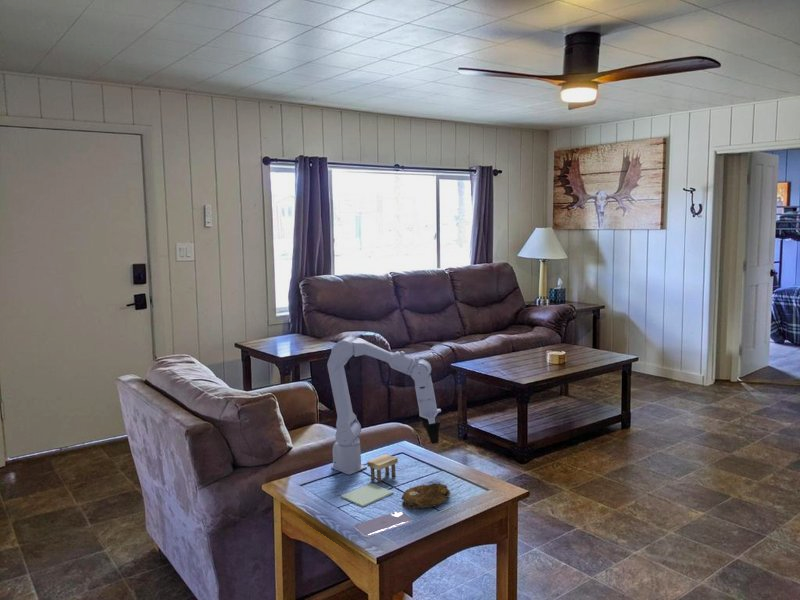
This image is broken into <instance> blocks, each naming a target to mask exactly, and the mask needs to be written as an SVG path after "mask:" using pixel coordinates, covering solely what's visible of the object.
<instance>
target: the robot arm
mask: <svg viewBox="0 0 800 600" xmlns="http://www.w3.org/2000/svg"><path fill="white" fill-rule="evenodd" d="M353 356H354V357H360V356H368V357H371V358H373V359H377V360H380V361H383V362H385V363H387V364H389V367H390V368H391V369H393V370H396V371H398V372H400V373H402V374H405V375H408V376H410V378H412V380H413V381H414V389H415V394H416V400H417V406H418V411H419V414H418V415H419V418H420V420H421V421H422V423H421V424H422V426H423V427H424V429H425V430H426V434H427V436H428V438H429V440H430V443H431V444H432V445H433V444H438V443H439V435H440V433H439V431H440V426H441V423H442V422H441V420H439V419H438V420H436V419H437V415H438V414H439V413H441V412H442V409H441V408H437V407H438V406H437V402H436V394H435V389H434V383H433V381H432V380H433V379H432V375H431V373H432V366H431V363H430V362H429V361H428V360H426V359H425V358H424V359H423V358H422V359H420V358H419V357H413V356H411V355H407V354H406V352H405V351H403V350H401V351H395V352H391V351H388V350H386V349H384V348H382V347H381V346H378V345H375V344H373V343H371V342H369V341H367V340H365V339H363V338H361V337H356V336H354V335H347V336H345V337H344V338H342V340H339V341H337V342H336V343H335V345H333V346H332V347H331V352H330V355H329V357H328V360H327V363H326V364H327V372H328V375H329V380H330V381H329V382H330V386H331V392H332V396H333V401H334V406H335V410H336V415H337V418H336V424H335V427H336V428H335V429H336V433H335V435H334V436H335V440H336V441H335V442H334V443H333V445H332V464H333V465H332V466H331V469H333V470H336V471H338V472H340V473H343V474H346V475H352V474H355V473H357V472H359V471H362V470H364V469H367V468H368V465H364V464H363V463H362V456H361V455H362V453H361V440H360V438H359V435H360V434H361V432H362V426H361V424H360V422H359V420H358V419H357V415H356V414H355V413H354V410H353V405H352V401H351V396H350V392H349V390H350V389H349V386H348V385H349V384H348V381H347V376H346V375H347V374H346V370H345V365H346V364H347V363H348V362H349V360H350V359H351V358H352V357H353Z"/></svg>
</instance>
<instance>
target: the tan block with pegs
mask: <svg viewBox="0 0 800 600" xmlns="http://www.w3.org/2000/svg"><path fill="white" fill-rule="evenodd" d="M398 460H399V459H398V457H396V456H393V455H390V454H386V453H385V454H382V455H380V456H377V457H375V458H373V459H370V460H367V461H366V462H367V467H369V468H370V480H371V481H375V480H376V481H377V483H378V484H381V483H382V471H381V470H383V469H385V475H390V467H391V477H393V478H394V477H396V476H397V475H396V474H397V473H396V464H398V463H399V461H398ZM375 470H376V473H375ZM375 476H376V478H375ZM380 482H381V483H380Z"/></svg>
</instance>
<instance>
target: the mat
mask: <svg viewBox="0 0 800 600" xmlns="http://www.w3.org/2000/svg"><path fill="white" fill-rule="evenodd" d="M393 494H394V491H392V490H390V489H387V488H385V487H382V486H380V485H377V484H374V483H372V482H370V483H369V484H365V485H364V486H360V487H358V488H356V489H354V490H351V491H349V492H347V493H344V494H342V495H340V498H342V499H344V500H346V499H347V500H346V501H348V500H349V502H350V501H351V503H352V502H353V504H355V505H357V506H359V507H361V508H364V507H366V506H369V505H371V504H373V503H375V502H378V501H379V500H382V499H384V498H386V497H389V496H391V495H393Z"/></svg>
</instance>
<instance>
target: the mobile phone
mask: <svg viewBox="0 0 800 600" xmlns="http://www.w3.org/2000/svg"><path fill="white" fill-rule="evenodd" d="M413 522H414V520H413V519H412V517H410V516H409V515H407V514H405V513H404V512H402V511H401V510H397V511H393V512H391V513H387V514H384V515H381V516H378V517H375V518H371V519H370V520H369V519H368V520H365V521H362V522H359V523H357V524H354V526H353V529H354V531H357V533H358V534H360V535H361V536H362V537H364V538H370V537H373V536H376V535H379V534H383V533H385V532H388V531H391V530H393V529H396V528H400V527H403V526H405V525H408V524H411V523H413Z"/></svg>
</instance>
